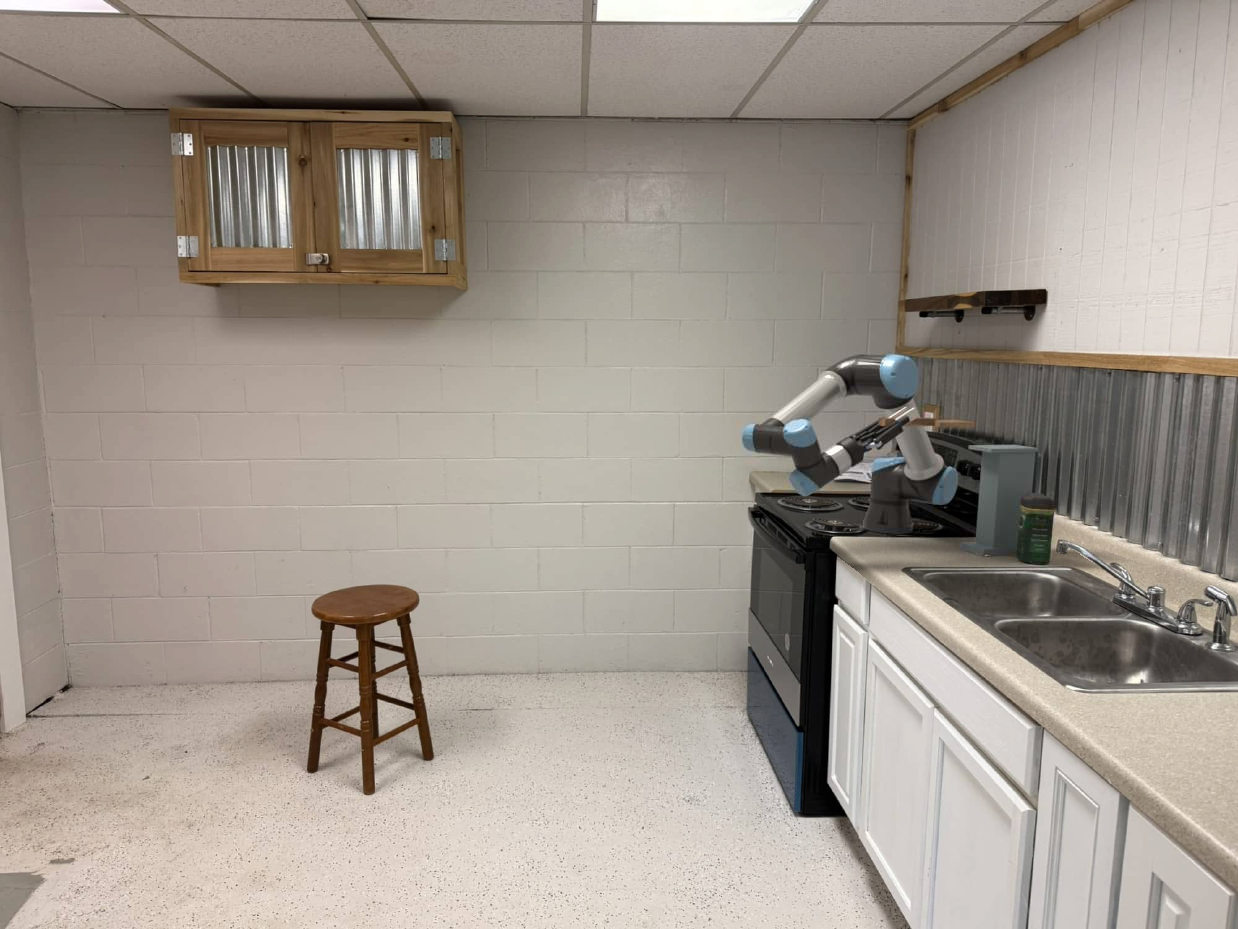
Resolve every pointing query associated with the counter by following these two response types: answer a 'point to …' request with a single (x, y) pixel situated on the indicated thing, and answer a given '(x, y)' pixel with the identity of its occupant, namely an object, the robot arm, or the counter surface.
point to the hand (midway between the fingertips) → (911, 411)
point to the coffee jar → (1035, 528)
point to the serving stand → (1001, 497)
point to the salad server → (928, 422)
